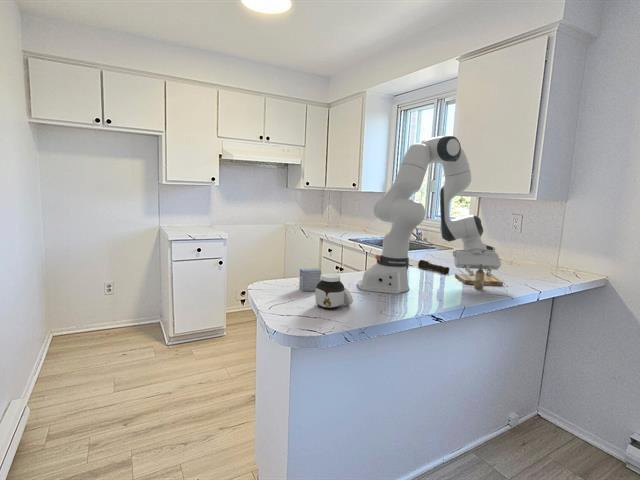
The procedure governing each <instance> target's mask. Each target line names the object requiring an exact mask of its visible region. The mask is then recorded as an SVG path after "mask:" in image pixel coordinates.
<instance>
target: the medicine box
mask: <svg viewBox="0 0 640 480" xmlns="http://www.w3.org/2000/svg"><path fill="white" fill-rule="evenodd" d="M321 275H322V271H321V270H320V269H319V268H317V267H315V268H314V267H313V268H300V269H299V286H298V287H299V290H300V291H301V292H314V291H315V292H316V286H317V284H318V283H319V282H320V281H321Z"/></svg>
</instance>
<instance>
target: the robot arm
mask: <svg viewBox="0 0 640 480" xmlns="http://www.w3.org/2000/svg"><path fill="white" fill-rule="evenodd" d="M402 158H403V159H402V161H401V163H400V166H399V168H398V172H397V174H396V177H395V180H394V181H393V183H392V185H391V187H390V188H389V189H388V191H386V192H385V194H384V195H383V196H382V197H381V198H380V199H378V200H377V201H375V204H374V206H373V214H374V217H375V218H376V219H377V220H379V221H381V222H384V223H386V224H387V223H388V224H392V225H391V229H390V231H389V232H388V233H387V234H385V235H384V237H383V239H382V251H381V254H380V255H379V254H377V253H376V254H375V255H374V257H375V260H376V263H375V264H373V265H372V266H371V267H369V268H367V269H366V270H365V271H364V273H363V276H362V279H359V280H358V281H357V283H356V285H357V288H358V289H360V290H362V291H365V292H366V291H367V292H377V293H386V294H396V295H398V294H401V293H403V292H408V291H409V290H410V286H409V279H408V270H409V265H410V259H409V258H410V257H409V250H410V249H409V248H410V242H411V238H412V235H413V233H414V231H415V229H416V228H417V227H418V226H419V225H420V224H422V222H423V221H424V220H425V217H426V209H425V206H424V204H422V203H421V202H419V201H417V200H414V199H412V198H411V197H412V196H413V195H415V194H416V193H418V192H420V189H421V187H422V184H423V182H424V179H425V176H426V173H427V170H428V167H429V164H441V166H442V169H443V175H444V176H443V177H444V184H443V186H442V187H441V188H440V191H439V197H440V198H439V205H440V206H439V208H440V209H439V210H440V227H439V232H440V236H441V238H442V239H443V240H445V241H446V242H453V241H456V240H460V239H461V241H462V243H463V244H462V248H463V249H455V250H453V251H452V256H453V258H454V259H453V260H454V262H453V263H454V266H455V268H457V269H464V270H465V272H467V274H469V276H473V275H474V274H475V273H474V270H471V269H475V270H478V269H480V264H482V270H487V271H486V273H485V274H486V275H487V277H491V275H492V271H494V270H495V271H496V270H499V269H500V268H501V266H502V262H501V258H500V256H499V255H498V253H496V248H495V247H494V246H491V245H488V244H486V243H483V241H482V240H481V239H482V235H483V233H484V228H483V225H482V220H481V218H480V217H478V216H477V215H474V214H473V215H467V216H466V215H465V216H463V217H459V218H454V219H451V218H450V202H451V201H452V200H453V199H454V198H455V197H456V196H458V195H460V194H462V193H463V192H465V190H466V189H468V188H469V186H470V185H471V182H472V173H471V168H470V163H469V160H468V158H467V156H466V153H465V151H464V150H463V149H462V147H461V142H460V141H459V139H458V138H457V137H456V136H453V135H450V134H449V135H443V136H435V137H431V138H428V139H424V140H422V141H420V142H419V143H418V142H417V143H416V142H415V143H413V144H411V145H410V146H409V147H408V149H407V151H406V152H405V155H404V157H402ZM410 198H411V199H410Z"/></svg>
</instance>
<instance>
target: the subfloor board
mask: <svg viewBox="0 0 640 480" xmlns="http://www.w3.org/2000/svg"><path fill="white" fill-rule="evenodd" d="M475 276H476V273H474V275H473V276H469V273H455V274H454V278H456V279H457V280H458V281H460V282H461V283H462V284H464V285H475ZM483 286H501V287H502V286H504V281H503V280H501V279H499V278H497V277H495V276H493V275H492V274H491V277H487V275H486V273H485V274H484V283H483Z"/></svg>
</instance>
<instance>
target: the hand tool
mask: <svg viewBox="0 0 640 480" xmlns="http://www.w3.org/2000/svg"><path fill="white" fill-rule="evenodd" d="M417 266H418V268H420V269H423V270H430V271H434V272H438V273H440V274H444V275H448V274H449V273H450V267H448V266H443V265H438V264H433V263H430V262H429V260H424V259H420V260H419V261H418V264H417Z"/></svg>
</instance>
